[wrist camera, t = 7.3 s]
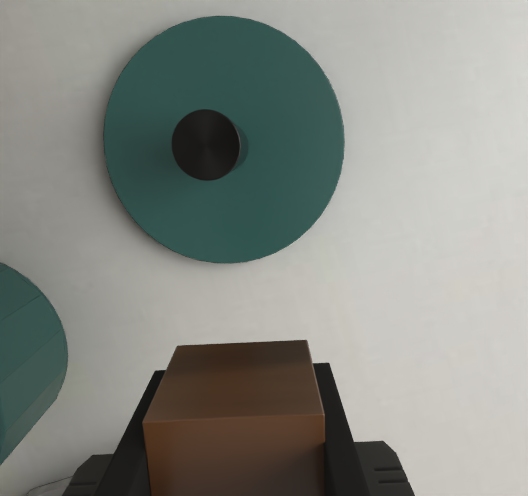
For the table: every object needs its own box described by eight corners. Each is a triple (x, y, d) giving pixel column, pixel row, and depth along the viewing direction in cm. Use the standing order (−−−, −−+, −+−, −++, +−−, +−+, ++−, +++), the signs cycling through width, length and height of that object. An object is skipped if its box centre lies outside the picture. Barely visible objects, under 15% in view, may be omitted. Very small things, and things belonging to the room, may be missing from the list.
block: (177, 345, 15) (141, 421, 11) (307, 339, 15) (324, 414, 11) (187, 459, 16) (159, 573, 12) (310, 454, 16) (328, 567, 12)
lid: (96, 25, 29) (6, -41, 19) (341, 15, 28) (383, -57, 18) (122, 263, 32) (57, 314, 22) (341, 255, 32) (376, 303, 22)
